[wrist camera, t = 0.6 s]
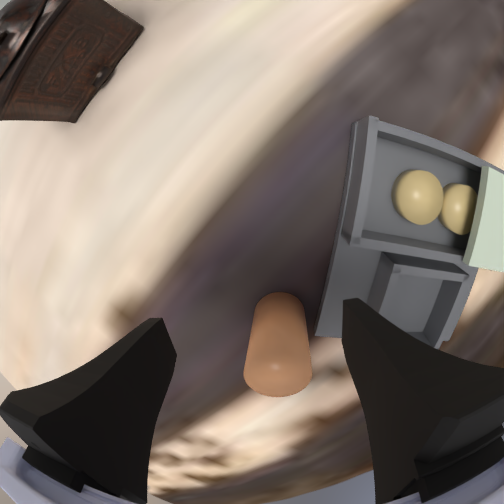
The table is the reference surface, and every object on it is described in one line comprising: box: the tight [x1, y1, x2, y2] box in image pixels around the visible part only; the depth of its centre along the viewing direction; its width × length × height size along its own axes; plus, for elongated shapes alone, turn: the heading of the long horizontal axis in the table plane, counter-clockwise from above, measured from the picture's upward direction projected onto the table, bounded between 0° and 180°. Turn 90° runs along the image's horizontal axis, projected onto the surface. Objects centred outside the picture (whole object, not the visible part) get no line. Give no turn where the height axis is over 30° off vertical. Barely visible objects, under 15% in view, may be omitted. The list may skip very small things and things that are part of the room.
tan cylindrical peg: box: [244, 292, 312, 397], centre depth 18 cm, size 4×4×7 cm
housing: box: [314, 116, 504, 349], centre depth 17 cm, size 16×14×4 cm
